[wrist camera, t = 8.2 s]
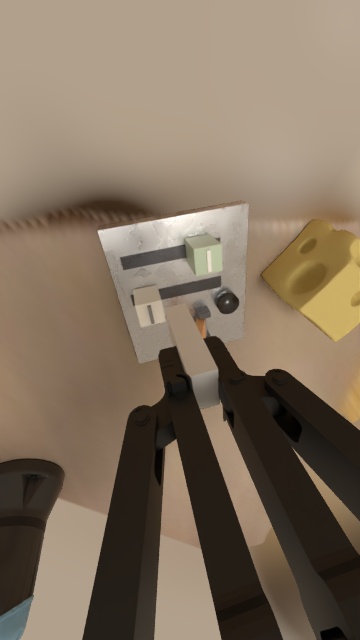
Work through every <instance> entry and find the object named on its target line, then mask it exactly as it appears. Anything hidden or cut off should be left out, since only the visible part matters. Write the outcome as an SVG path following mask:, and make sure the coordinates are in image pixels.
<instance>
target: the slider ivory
mask: <svg viewBox="0 0 360 640" xmlns="http://www.w3.org/2000/svg"><path fill="white" fill-rule="evenodd" d="M133 294H134V302H135V308H136V311H137V315H138V319H139V322H140V326H141V327H145V326H149V325H154V324H158V323H162V322H166V321H165V315H164V310H163V305H162V300H161V297H160V294H159V291H158V287H157V285H154V286H149V287H144V288H140V289H135V290H133Z"/></svg>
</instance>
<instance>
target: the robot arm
mask: <svg viewBox="0 0 360 640" xmlns="http://www.w3.org/2000/svg"><path fill="white" fill-rule="evenodd" d="M165 313H166V319H167V324H168V329H169V334H170V339H171V342H172V345H173V347H169V348H165V349H161V350H160V352H159V355H158V358H159V363H160V367H161V372H162V376H163V381H164V387H165V395H164V396H163V398H162V399H161V400H160V401H159V402H158V403H157V404H155V405H153V406H152V407H150V406H147V405H143V406H139V407H137V408H135V409H134V410H133V411H132V412H131V413H130V415H129V417H128V421H127V425H126V430H125V435H124V440H123V445H122V450H121V455H120V459H119V464H118V469H117V474H116V479H115V484H114V489H113V493H112V498H111V503H110V508H109V513H108V518H107V523H106V527H105V532H104V537H103V542H102V547H101V552H100V556H99V561H98V566H97V572H96V576H95V581H94V586H93V590H92V595H91V600H90V605H89V610H88V615H87V619H86V625H85V629H84V635H83V639H82V640H154V630H155V613H156V597H157V596H156V595H157V580H158V562H159V546H160V530H161V513H162V496H163V479H164V463H165V446H167V445H168V444H170V443H171V442H172V441H174V440H175V439H177V443H178V448H179V452H180V457H181V461H182V465H183V470H184V474H185V479H186V483H187V488H188V492H189V496H190V501H191V505H192V510H193V514H194V518H195V523H196V527H197V532H198V536H199V540H200V545H201V549H202V553H203V558H204V563H205V567H206V571H207V576H208V580H209V584H210V589H211V593H212V597H213V602H214V607H215V611H216V616H217V620H218V625H219V630H220V634H221V639H222V640H283V638H282V635H281V632H280V630H279V627H278V624H277V621H276V619H275V616H274V613H273V611H272V609H271V606H270V604H269V602H268V600H267V598H266V596H265V594H264V592H263V589H262V587H261V584H260V581H259V578H258V575H257V573H256V570H255V567H254V564H253V561H252V558H251V555H250V552H249V549H248V547H247V544H246V541H245V538H244V535H243V532H242V529H241V526H240V524H239V521H238V518H237V515H236V512H235V509H234V506H233V503H232V501H231V498H230V495H229V492H228V489H227V486H226V483H225V480H224V478H223V475H222V472H221V469H220V466H219V463H218V460H217V457H216V455H215V452H214V449H213V446H212V443H211V440H210V437H209V434H208V432H207V429H206V426H205V423H204V420H203V417H202V414H201V411H200V409H203V408H207V407H211V406H214V405H218V404H220V400H221V403H222V405H223V419H224V421H226V420H227V422H228V424H229V427H230V429H231V431H232V434H233V436H234V438H235V441H236V443H237V445H238V448H239V450H240V452H241V455H242V457H243V459H244V462H245V464H246V466H247V469H248V471H249V473H250V475H251V478H252V480H253V482H254V485H255V487H256V489H257V492H258V494H259V496H260V499H261V501H262V503H263V506H264V508H265V510H266V513H267V515H268V517H269V520H270V522H271V524H272V527H273V529H274V531H275V533H276V536H277V538H278V540H279V543H280V545H281V548H282V550H283V552H284V554H285V557H286V559H287V561H288V564H289V566H290V568H291V571H292V573H293V575H294V578H295V580H296V583H297V585H298V588H299V592H300V596H301V600H302V603H303V606H304V609H305V612H306V614H307V617H308V620H309V622H310V624H311V627H312V629H313V631H314V634H315V636H316V638H317V640H360V555H359V554H358V553H357V551H356V550H355V549H354V547H353V546H352V544H351V543H350V541H349V539H348V538H347V536H346V534H345V533H344V531H343V530H342V528H341V526H340V525H339V523H338V521H337V520H336V518H335V517H334V515H333V513H332V512H331V510H330V509H329V507H328V505H327V504H326V502H325V500H324V499H323V497H322V496H321V494H320V492H319V491H318V489H317V488H316V486H315V484H314V483H313V481H312V479H311V478H310V476H309V474H308V473H307V471H306V470H305V468H304V466H303V465H302V463H301V462H300V460H299V458H298V457H297V455H296V453H295V452H294V450H295V451H296V452H297V453H298V454H299V455H300V456H301V457H302V458H303V460H304V461H305V462H306V463H307V464H308V465H309V466H310V467H311V468H312V469H313V471H315V473H316V474H317V475H318V476H319V477H320V478H321V479H322V480H323V481H324V482H325V484H326V485H327V486H328V487H329V488H330V489H331V490H332V491H333V492H334V493H335V495H336V496H337V497H338V498H339V499H340V500H341V501H342V502H343V503H344V504H345V505H346V507H347V508H348V509H349V510H350V511H351V512H352V513H353V514H354V515H355V516H356V518H357V519H358V520H359V521H360V430H359V429H357V428H356V427H355V426H354V425H352V424H351V423H350V422H349V421H348V420H346V419H345V418H344V417H343V416H341V415H340V414H339V413H338V412H336V411H335V410H334V409H333V408H331V407H330V406H329V405H328V404H327V403H325V402H324V401H323V400H322V399H320V398H319V397H318V396H317V395H315V394H314V393H313V392H312V391H310V390H309V389H308V388H307V387H306V386H304V385H303V384H302V383H301V382H299V381H298V380H297V379H296V378H294V377H293V376H292V375H291V374H289V373H288V372H286V371H284V370H281V369H272V370H269V371H268V372H267V373H266V375H265V376H251V375H247V374H246V373H245V372H243V371H241V370H240V369H239V368H238V367H237V365H236V363H235V362H234V360H233V358H232V357H231V355H230V353H229V352H228V350H227V348H226V347H225V345H224V343H223V342H222V340H221V339H220V338H218V337H217V336H212V337H208V338H204V339H203V338H202V336H201V334H200V332H199V330H198V328H197V326H196V324H195V322H194V320H193V318H192V316H191V314H190V312H189V310H188V308H187V306H186V304H185V303H183V304H179V305H175V306H170V307H166V308H165ZM291 446H292V447H291ZM292 448H293V449H294V450H293V449H292ZM63 480H64V472H63V470H62V469H61V468H60V467H59V466H57V465H55V464H53V463H51V462H47V461H42V460H32V459H26V460H15V461H9V462H5V463H2V464H0V640H19V639H20V638H21V636H22V634H23V632H24V630H25V627H26V622H27V619H28V614H29V610H30V606H31V602H32V600H33V597H34V595H33V592H34V586H35V581H36V576H37V571H38V565H39V560H40V554H41V549H42V543H43V538H44V533H45V527H46V523H47V519H48V517H49V515H50V513H51V511H52V508H53V506H54V504H55V502H56V500H57V498H58V495H59V493H60V491H61V489H62V486H63Z"/></svg>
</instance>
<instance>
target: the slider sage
mask: <svg viewBox="0 0 360 640" xmlns="http://www.w3.org/2000/svg"><path fill="white" fill-rule="evenodd" d="M185 247H186V256H187V264H188V265H189V267H190V268H191V269H192V271H193V272H194V274H195V275H196V276H200V275H205V274H209V273H214V272H219V271H222V244H221V243H220V242H219V241H218V240H216V239H215V238H214V237H213V236H212V235H210V234H206V235H201V236H196V237H191V238H185Z"/></svg>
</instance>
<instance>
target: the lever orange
mask: <svg viewBox="0 0 360 640" xmlns="http://www.w3.org/2000/svg"><path fill="white" fill-rule="evenodd" d="M195 324H196V326H197V328H198V330H199V332H200V334H201V336H202V338H203V339H204V338H206V336H207V325H206V318H205V319H201V320H200V319H199V317H198V316H197V317H196V322H195Z"/></svg>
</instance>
